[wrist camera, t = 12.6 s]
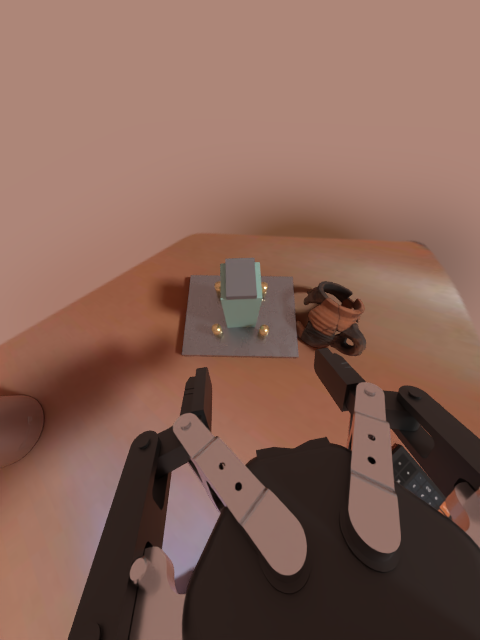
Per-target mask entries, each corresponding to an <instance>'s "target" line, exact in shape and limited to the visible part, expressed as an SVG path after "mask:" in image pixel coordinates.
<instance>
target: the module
mask: <svg viewBox="0 0 480 640" xmlns="http://www.w3.org/2000/svg"><path fill="white" fill-rule="evenodd" d="M220 281H221V303H222V307H223V311H224V316H225V320H226V324H227V328H232V327H255V326H256V322H257V318H258V314H259V310H260V306H261V302H262V286H261V274H260V262H255V260H254V258H234V259H226V263H225V264H220Z"/></svg>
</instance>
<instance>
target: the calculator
mask: <svg viewBox="0 0 480 640" xmlns="http://www.w3.org/2000/svg"><path fill="white" fill-rule="evenodd" d="M392 463H393V476H394V481H396V482H397V483H399V484H400V485H402V486H403V487H405V488H406V489H407V490H409V491H410V492H412V493H413V494H415V495H416V496H418V497H419V498H420V499H422V500H423V501H425V502H426V503H428V504H429V505H431V506H432V507H434V508H435V509H436V510H438V511H439V512H441V513H442V514H444V515H445V516H447V517H448V518H449V519H451V520H452V516H451V515H450V513H449V511H448V509H447V507H446V497H445V496H444V495H443V494H442V492H441V491H440V490H439V488H438V487H437V486H436V485H435V483H434V482H433V481H432V480H431V479H430V477H429V476H428V475H427V474H426V473H425V472H424V471H423V469H422V468H421V467H420V466H419V465H418V464H417V462H416V461H415V460H414V459H413V458H412V457H411V455H410V454H409V453H408V452H407V451H406V450H405V449H404V447H403V446H402V445H398V446H397V447H396V448H395V449H394V450H393V451H392Z"/></svg>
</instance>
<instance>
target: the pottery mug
mask: <svg viewBox="0 0 480 640" xmlns="http://www.w3.org/2000/svg"><path fill="white" fill-rule="evenodd" d="M325 292H326V293H329V294H332V295H334V296H335V297H336V298H337V299H338V300H339V301H340V302H342V305H339V304H337V303H336V302H334V301H333V300H332V299H330V298H329V297H328V296H327V295H326V293H325ZM307 293H308V294H309V295H308V296H307V297H306V298H305V299H304V304H305V305H308V304H309V303H317V304H320V305H318V306H317V307H315V308H313V309H312V310H310V311H309V314H308V318H309V320H310V321H309V322H308V324H307V326H306V328H305V327H304V326H303V325H302V323H301V322H300V321H297V322H296V330H297V335H298V336H299V337H300V338H301V339H302V340H303V341H304V342H305V343H307V344H309V345H310V346H313V347H317V348H323V347H325V346H328V345H330V346H331V347H334V348H336V349H337V350H338V351H340V352H341V353H343V354H346V355H349V356H357V355H361V354H362V351H363V350H365V348H366V340H365V338H364V336H363V334H362V333H361V332H360V330H359V328H358V324H356V323H355V322H359V320H360V314H362V313H363V312H364V310H365V307H364V305H363V303H362V301H361V300H360V299H356V301H355V302H354V301H353V300H351V299H350V298H349V296H351V295H352V294H353V293H352V292H351V291H350V290H349V289H347V288H345V287H343V286H341V285H339V284H336V283H333V282H327V281H324V282H321V283H320V284H319V286H318V287H316V288H314V289H311V290H309V291H308V292H307ZM352 308H354V310H353V309H352ZM336 331H338V332H341V333H340V334H337V335H334V334H335V332H336ZM347 338H349V339H350V340H352V342H353V343H354V346H351V345H348V344H347V343H346V340H347Z"/></svg>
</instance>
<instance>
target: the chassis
mask: <svg viewBox="0 0 480 640" xmlns="http://www.w3.org/2000/svg"><path fill="white" fill-rule="evenodd" d="M261 286H262V302H261V306H260V310H259V314H258V318H257V322H256V326H255V327H232V328H227V324H226V320H225V316H224V311H223V307H222V303H221V281H220V276H203V275H191V279H190V287H189V296H188V305H187V314H186V323H185V331H184V340H183V349H182V355H184V356H211V357H261V358H297V357H298V344H297V330H296V317H295V303H294V290H293V277H268V276H261Z"/></svg>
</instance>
